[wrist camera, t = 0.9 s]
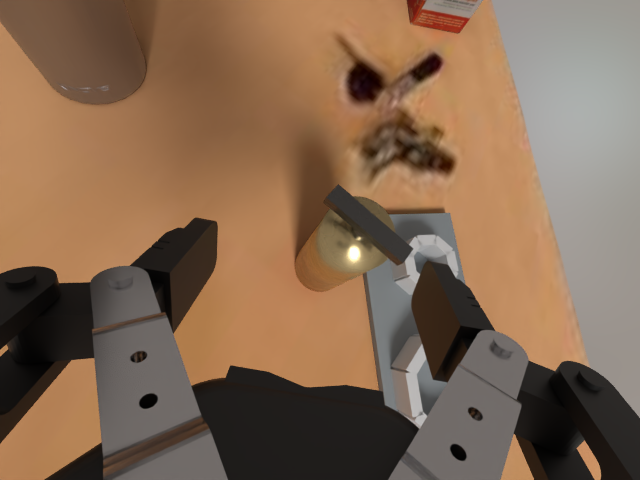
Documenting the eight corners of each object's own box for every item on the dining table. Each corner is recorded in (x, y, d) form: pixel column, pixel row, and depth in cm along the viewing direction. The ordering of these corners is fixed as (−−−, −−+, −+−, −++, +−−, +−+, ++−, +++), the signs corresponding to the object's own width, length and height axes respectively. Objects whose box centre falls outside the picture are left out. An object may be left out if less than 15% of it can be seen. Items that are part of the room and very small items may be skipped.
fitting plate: (355, 218, 34) (368, 204, 31) (444, 215, 37) (467, 203, 33) (390, 473, 28) (413, 495, 25) (494, 448, 31) (528, 464, 27)
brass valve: (280, 265, 31) (306, 219, 18) (312, 229, 33) (356, 164, 20) (327, 305, 31) (385, 287, 18) (356, 267, 33) (429, 226, 20)
